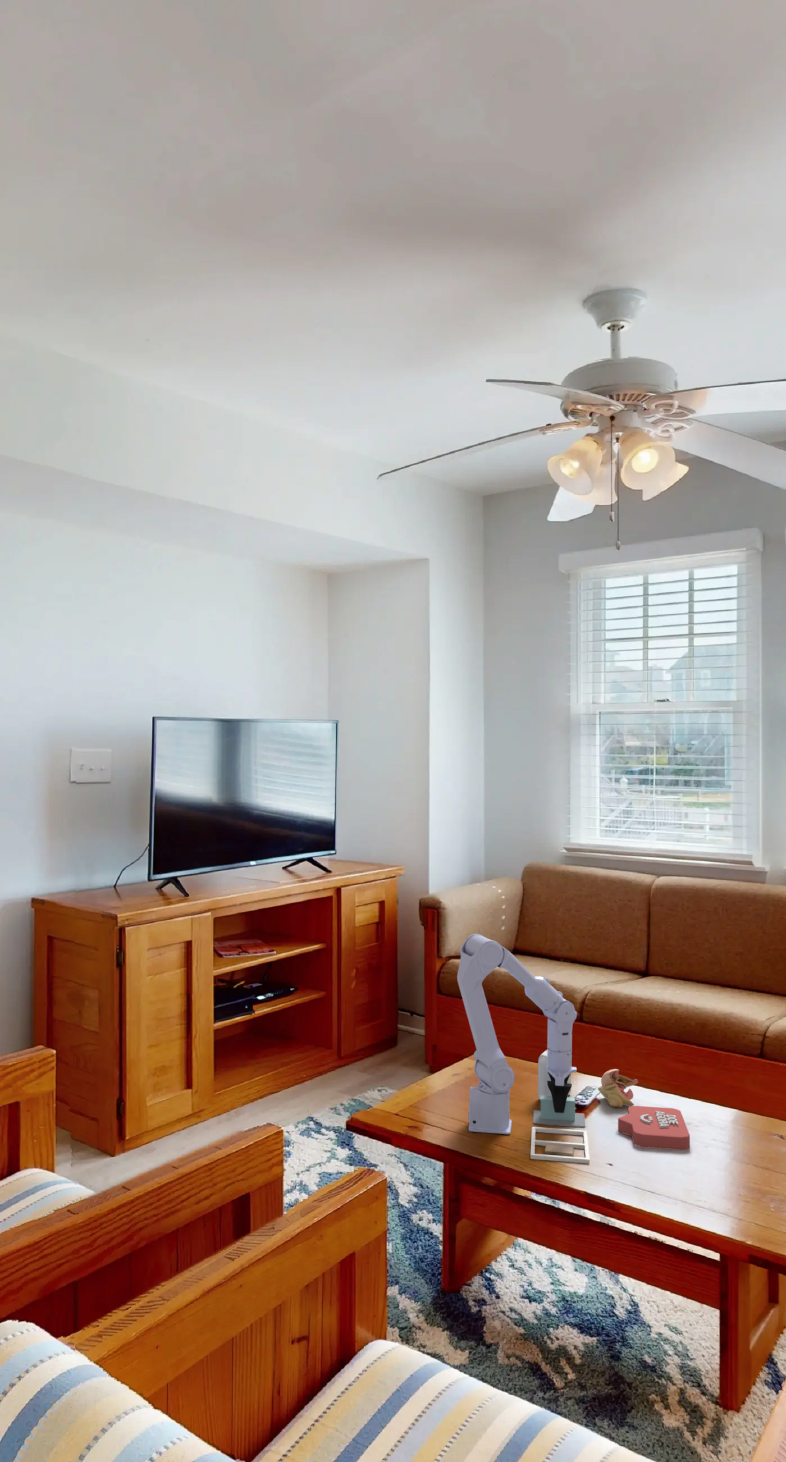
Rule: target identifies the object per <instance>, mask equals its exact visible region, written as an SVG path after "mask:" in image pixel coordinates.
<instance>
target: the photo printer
mask: <svg viewBox="0 0 786 1462" xmlns="http://www.w3.org/2000/svg"><path fill="white" fill-rule="evenodd" d="M537 1061H538V1064H537V1066H538V1067H537V1097H538V1099H539V1100H540V1101H541V1095H542V1096H552V1095H551V1092H550V1090H549V1088H548V1085H547V1081H551V1079H550V1076H549V1074H548V1072H547V1070H546V1067H547V1049H546V1050H544V1052H542V1053H541V1054H540V1056H539V1057H538V1059H537ZM567 1083H569V1084H572V1074H571V1075H570V1076H569V1079H568V1081H567ZM571 1092H572V1088H571V1089H570V1091H569V1093H568V1096H569V1095H571V1094H572V1093H571Z"/></svg>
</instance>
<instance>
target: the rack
mask: <svg viewBox="0 0 786 1462" xmlns="http://www.w3.org/2000/svg"><path fill="white" fill-rule="evenodd" d="M536 1133H546V1134H547V1133H548V1134H561V1135H573V1136H574V1135H575V1136H583V1142H580V1143H579V1142H568V1141H567V1142H566V1141H554V1140H553V1141H552V1140H540V1139H536ZM530 1137H531V1139H530V1140H531V1141H530V1159H531V1160H541V1161H553V1162H554V1161H555V1162H565V1163H566V1162H567V1163H577V1164H591V1163H590V1161H591V1159H590V1150H589V1149H590V1148H589V1138H588V1131H587V1130H582V1129H581V1130H579V1129H568V1128H556V1127H555V1128H553V1127H540V1126H532V1127H531V1136H530ZM546 1145H556V1146H567V1147H573V1149H581V1150H582V1149H584V1156H585V1157H581V1156H574V1157H569V1156H556V1155H545V1154H542V1153H541V1154H540V1153H536V1152H535V1151H536V1150H535V1149H536V1146H543V1147H546Z"/></svg>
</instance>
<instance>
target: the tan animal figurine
mask: <svg viewBox="0 0 786 1462" xmlns="http://www.w3.org/2000/svg"><path fill="white" fill-rule="evenodd" d="M619 1072H620V1070H619V1069H617V1068H614V1069H613V1068H612V1069H609V1070H607V1071H606V1072H604V1074H603V1075H602V1076H601V1079H600V1083H601V1086H598V1088H597V1090H598V1091H599V1093H600V1094H601V1095H602V1096H603V1097H604V1098H605V1099H607V1102H608V1103H609V1106H610V1107H612V1108H622V1107H623V1106H624V1105H625V1106H629V1107H631V1106H635V1104H634V1103H633V1102H632V1101H631V1100H632V1099H634V1092H633V1090H632V1089H631V1088H629V1087H631V1086H634V1085H636V1084H638V1083H639V1081H638V1079H637V1078H636V1079H631V1078H629V1077H628V1076H624V1075H622V1074H619ZM627 1088H629V1089H628V1091H626V1092H625V1090H626V1089H627Z"/></svg>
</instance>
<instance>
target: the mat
mask: <svg viewBox="0 0 786 1462" xmlns="http://www.w3.org/2000/svg"><path fill="white" fill-rule="evenodd" d="M532 1124H535V1125H545V1126H557V1127H558V1126H559V1127H572V1128H573V1127H574V1128H584V1129H585V1128H586V1118H585V1113H579V1112H578V1113H577V1112H575V1121H568V1120H554V1119H541V1109H540V1110H539V1109H538V1110H537V1109H533V1118H532Z"/></svg>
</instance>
